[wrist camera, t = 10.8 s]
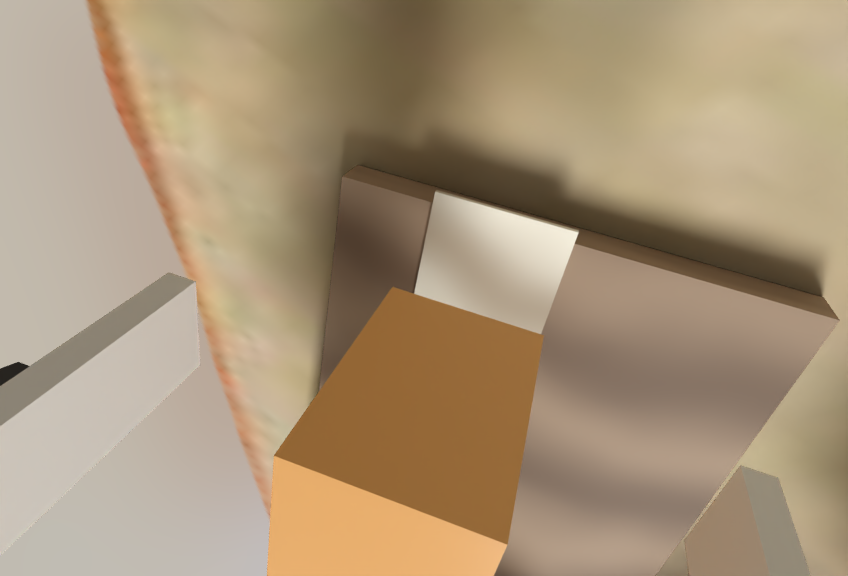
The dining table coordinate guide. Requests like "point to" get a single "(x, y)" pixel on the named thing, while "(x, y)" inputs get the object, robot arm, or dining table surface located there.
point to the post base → (587, 361)
